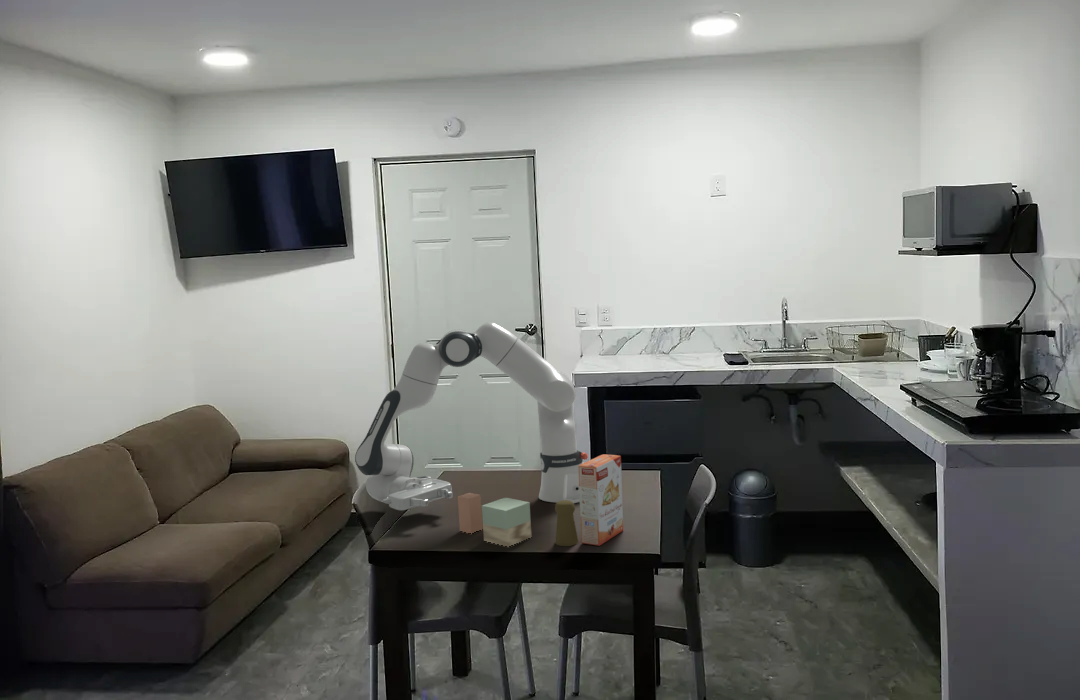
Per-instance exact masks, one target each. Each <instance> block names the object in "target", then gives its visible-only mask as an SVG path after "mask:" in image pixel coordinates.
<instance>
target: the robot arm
mask: <svg viewBox="0 0 1080 700" xmlns="http://www.w3.org/2000/svg"><path fill="white" fill-rule="evenodd" d="M479 357H483V358H485V359H486V360H487V361H489V362H490V363H491V364H492V365H493V366H494V367H496V368H498V369H499V370H500V371H501V372H503V373H504V374H505V375H506V376H507V377H509V378H511V380H513V381H514V382H515V383H516V384H517V385H518V386H520V387H521V388H522V389H523V390H524V391H525V392H527V393H528V394H529V395H530V396H531V397H532V398H533V399H535V400H536V401H537V411H538V422H539V433H540V434H539V437H540V453H539V457H540V458H539V467H540V471H541V481H540V482H541V483H540V489H539V494H538V499H539V500H542V502H543V501H544V502H549V503H557V502H558V501H562V500H569V501H572V502H573V503H574V504H576V503H577V504H578V503H580V496H579V471H578V466H579V465H581V464H583V463H585V462H584V461H583V460H588V458H589V455H588V453H586V452H582V451H580V450H578V449H577V437H576V436H577V433H576V431H577V430H576V422H575V413H574V402H575V399H576V387H575V386H574V383H573V382H572V381H571V379H570V378H569V377H568V375H566V374H565V373H563V372H562V371H559V370H558V369H557V368H555V366H553V365H552V364H551V363H550V362H548V361H547V359H545V358H544V357H542V355H540V354H539V353H538V352H536V351H535V349H533V348H531V347H530V346H529V345H528V344H526V343H525V342H524V341H523V340H522V339H520V338H519V337H517V336H516V335H515V334H513V332H511V331H509V330H508V329H506V328H505V327H503V326H501V325H499V324H497V323H495V322H493V321H489V322H485V323H484V324H482V325H481V326H479V327H478V328H477V329H476V331H474V332H470V331H467V330H463V329H453V330H451V331H448V332H447V333H445V334H444V335H443V336H442V337H441V339H439V340H438V342H436V343H435V344H433V343H428V342H422V343H418V344H416V345H415V346H414V347H413V349H412V350H411V352H410V354H409V356H408V358H407V360H406V363H405V365H404V368H403V371H402V373H401V377H400V379H399V381H398V383H397V384H396V385H395V387H394V388H393V389H392V390H390V392H388V393H386V395H385V397H384V399H383V400H382V402H381V404H380V406H379V408H378V410H377V412H376V414H375V416H374V418H373V420H372V422H371V425H370V427H369V428H368V431H367V434H366V435H365V437H364V439H362V440H363V441H362V442H361V443H360V445H359V446H358V448H357V450H356V453H355V456H354V460H355V461H354V462H355V464H356V467H357V469H358V470H359V471H360V473H362V474H363V475H364V476H368V477H367V478H366V482H365V488H366V491H367V493H368V494H369V496H370V497H371V498H372V499H373V500H377V501H378V502H381V503H384V504H386V505H387V504H388V507H389V508H391V509H393V510H397V511H405V510H409V509H412V508H415V507H423V508H424V507H428V506H429V503H430V502H435V501H438V500H440V499H443V498H445V499H448V500H449V499H452V498H453V497H454V496H453V495H454V494H453V489H452V484H451V482H449V481H445V480H443V479H436V478H432V477H431V476H429V475H426V476H417V477H411V474H412V473H413V470H414V469H413V468H414V465H415V463H414V459H415V458H414V455H413V452H412V449H410V447H409V446H408V445H406V444H398V443H387V442H385V441H386V439H387V438H388V435H389V433H390V431H391V429H392V427H393V425H394V424H395V423H394V422H395V421H396V420H397V418H399V417H400V416H401V415H403V414H404V413H407V412H409V411H412V410H416V409H417V410H418V409H419V408H422V407H425V406H426V405H428V404H429V403H430V402H431V400H433V398H434V395H435V393H436V390H437V386H438V383H439V380H440V378H441V377H440V376H441V374H442V372H443V370H444V369H445V368H446V367H447V366H451V367H454V368H462V367H464V366H467V365H469V364H471V362H473V361H475V360H476V359H477V358H479Z"/></svg>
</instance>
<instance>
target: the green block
mask: <svg viewBox="0 0 1080 700" xmlns="http://www.w3.org/2000/svg"><path fill="white" fill-rule="evenodd" d="M481 509H482V524H486V525H490V526H494V527H498V528H502V529H506V530H507V529H510V528H513V527H515V526H518V525H520V524H523V523H526V522H528V521H531V507H530V501H524V500H520V499H516V498H515V499H514V498H511V497H503V498H500V499H496V500H494V501H491V502H488V503H485V504H481ZM531 522H532V521H531Z"/></svg>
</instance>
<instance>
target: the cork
mask: <svg viewBox="0 0 1080 700" xmlns="http://www.w3.org/2000/svg"><path fill="white" fill-rule="evenodd" d="M554 510H555V514H556V517H557V518H556V529H555V530H556V531H555V540H554V541H555V545H556V546H559V547H571V546H575V545H578V544H579V539H578V534H577V533H578V532H577V528H576V522H575V517H574V513H575V510H576V506H575V503H573V502H572V501H569V500H562V501H558V502H555V504H554Z"/></svg>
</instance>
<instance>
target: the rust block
mask: <svg viewBox="0 0 1080 700" xmlns="http://www.w3.org/2000/svg"><path fill="white" fill-rule="evenodd" d="M457 506H458V509H457V510H458V521H459V532H460V531H463V532H462V533H464V532H466V533H465V534H468V533H471V534H470V535H473V534H472V533H474V532H476V531H479V530H481V531H483V530H482V529H483V517H482V497H481V494H480V493H479V494H478V493H473V492H466V493H464V494H461V495H458V496H457ZM479 532H480V531H479ZM476 533H477V532H476ZM474 534H475V533H474Z"/></svg>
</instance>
